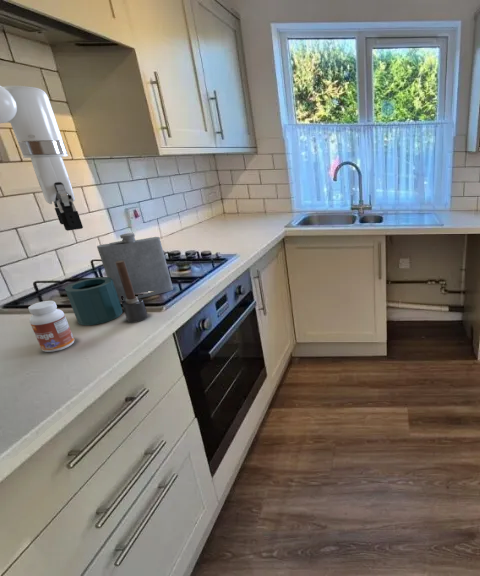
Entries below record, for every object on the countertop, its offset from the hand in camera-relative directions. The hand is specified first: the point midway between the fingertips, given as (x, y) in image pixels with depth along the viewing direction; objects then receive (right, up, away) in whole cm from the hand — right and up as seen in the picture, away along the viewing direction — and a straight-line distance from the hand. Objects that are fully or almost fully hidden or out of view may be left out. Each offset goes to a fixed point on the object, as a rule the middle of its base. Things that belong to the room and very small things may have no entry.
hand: (71, 226), depth 86 cm
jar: (-5, -23, +15) cm, 28 cm away
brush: (+6, -23, +14) cm, 28 cm away
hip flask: (-1, -17, +29) cm, 34 cm away
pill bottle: (-4, -29, +1) cm, 29 cm away
